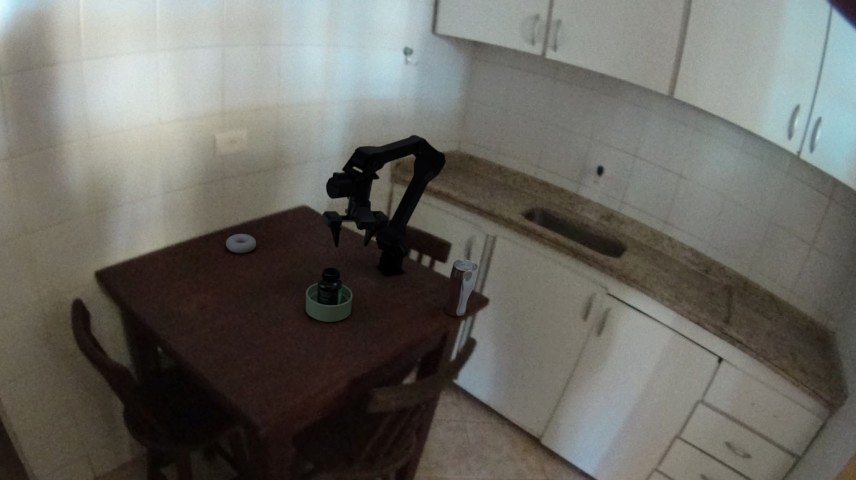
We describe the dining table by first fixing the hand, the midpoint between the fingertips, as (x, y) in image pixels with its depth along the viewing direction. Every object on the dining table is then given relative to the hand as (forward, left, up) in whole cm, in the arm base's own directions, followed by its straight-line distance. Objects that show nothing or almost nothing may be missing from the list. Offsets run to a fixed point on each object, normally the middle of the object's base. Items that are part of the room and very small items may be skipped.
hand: (350, 246), depth 179 cm
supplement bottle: (+12, +11, -12) cm, 20 cm away
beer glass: (-22, +25, -13) cm, 36 cm away
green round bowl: (+12, +11, -13) cm, 21 cm away
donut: (+22, -34, -13) cm, 42 cm away
